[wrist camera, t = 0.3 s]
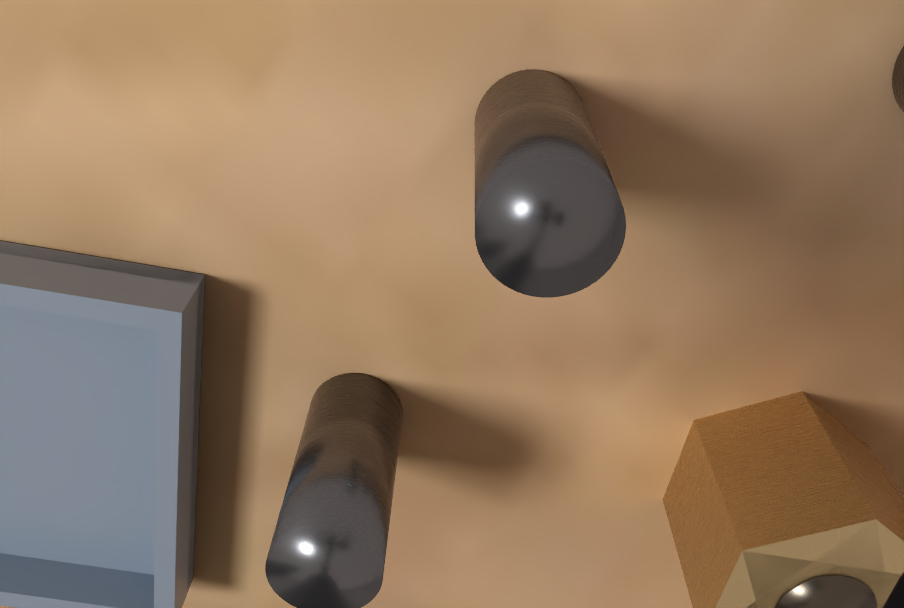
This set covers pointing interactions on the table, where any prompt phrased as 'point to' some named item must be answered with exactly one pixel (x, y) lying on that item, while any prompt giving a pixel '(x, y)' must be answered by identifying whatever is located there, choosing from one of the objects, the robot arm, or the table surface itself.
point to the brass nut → (783, 511)
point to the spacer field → (513, 264)
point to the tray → (97, 430)
